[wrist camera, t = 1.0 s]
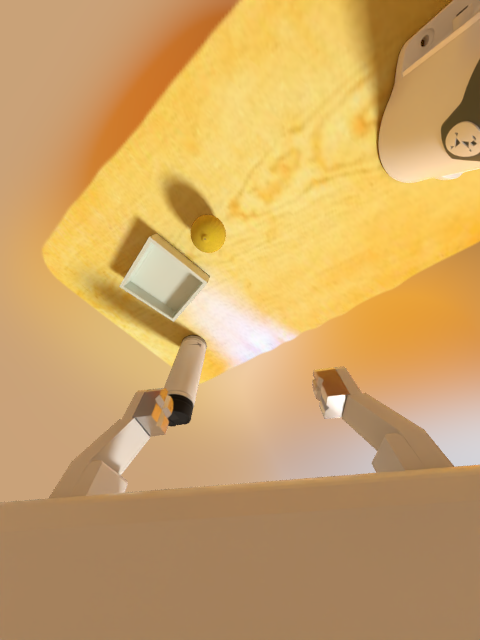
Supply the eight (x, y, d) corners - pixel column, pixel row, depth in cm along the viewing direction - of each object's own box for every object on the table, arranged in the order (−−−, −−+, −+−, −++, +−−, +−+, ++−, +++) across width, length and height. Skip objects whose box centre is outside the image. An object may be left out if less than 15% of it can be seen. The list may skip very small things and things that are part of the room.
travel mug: (200, 331, 46) (178, 407, 29) (210, 350, 49) (195, 429, 33) (177, 337, 47) (143, 414, 30) (188, 355, 50) (163, 434, 34)
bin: (156, 233, 34) (149, 236, 31) (209, 276, 38) (207, 282, 36) (127, 280, 39) (119, 286, 36) (177, 313, 43) (173, 321, 40)
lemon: (193, 240, 35) (182, 251, 28) (199, 207, 32) (189, 210, 25) (221, 251, 36) (218, 263, 29) (230, 220, 33) (229, 225, 26)
